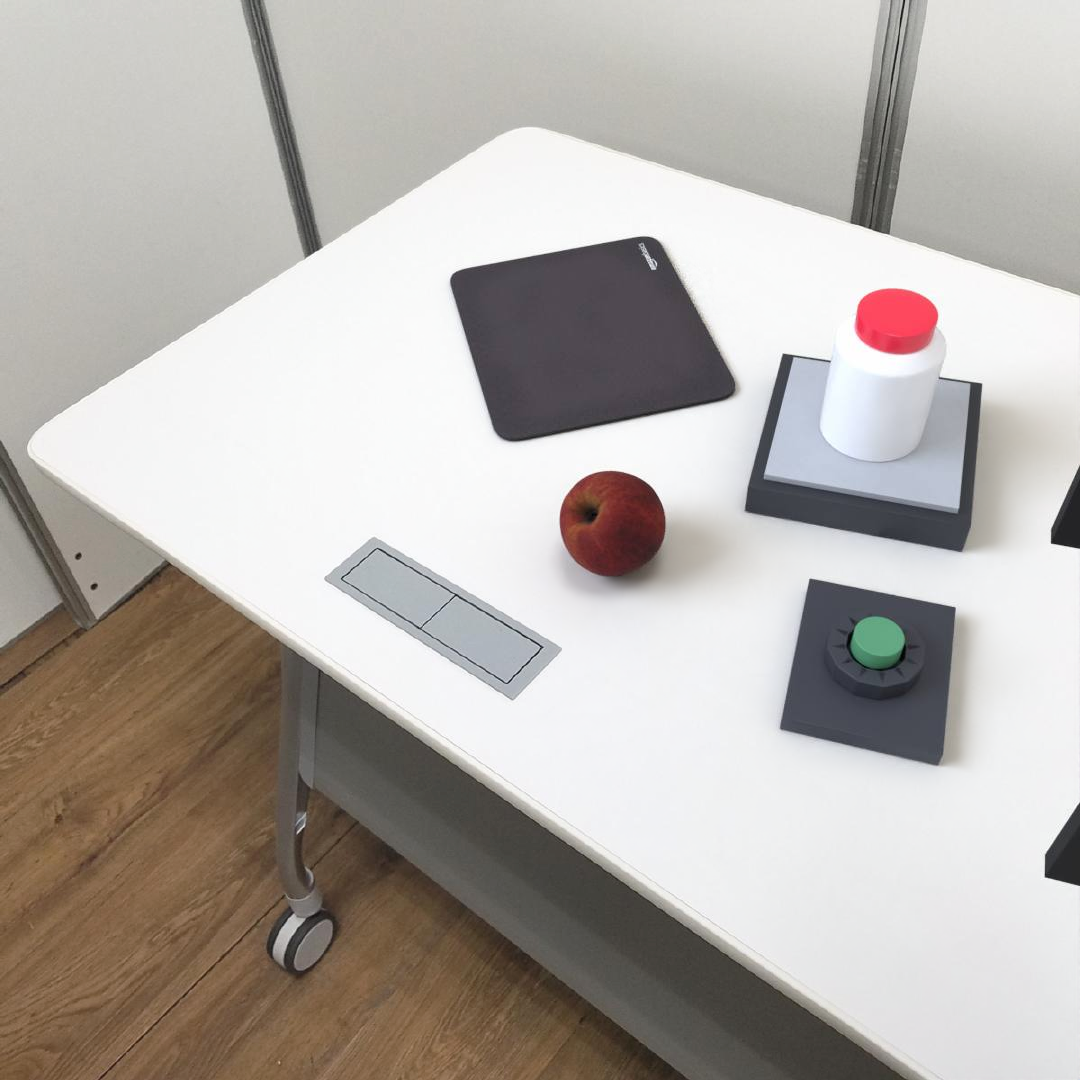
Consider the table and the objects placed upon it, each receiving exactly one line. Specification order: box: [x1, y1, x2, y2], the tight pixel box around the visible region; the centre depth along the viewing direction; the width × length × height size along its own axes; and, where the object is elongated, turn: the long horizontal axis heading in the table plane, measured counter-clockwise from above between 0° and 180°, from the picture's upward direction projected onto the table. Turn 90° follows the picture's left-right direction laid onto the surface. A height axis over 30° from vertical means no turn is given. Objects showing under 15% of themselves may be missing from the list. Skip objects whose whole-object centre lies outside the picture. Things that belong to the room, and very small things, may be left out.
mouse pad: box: [449, 235, 736, 441], centre depth 99 cm, size 25×21×1 cm
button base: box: [779, 578, 957, 766], centre depth 73 cm, size 12×10×3 cm
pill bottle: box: [819, 287, 947, 462], centre depth 80 cm, size 8×8×11 cm
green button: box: [851, 617, 905, 669], centre depth 71 cm, size 3×3×2 cm
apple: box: [558, 470, 667, 577], centre depth 79 cm, size 7×8×8 cm
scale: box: [744, 353, 983, 553], centre depth 86 cm, size 16×16×3 cm
